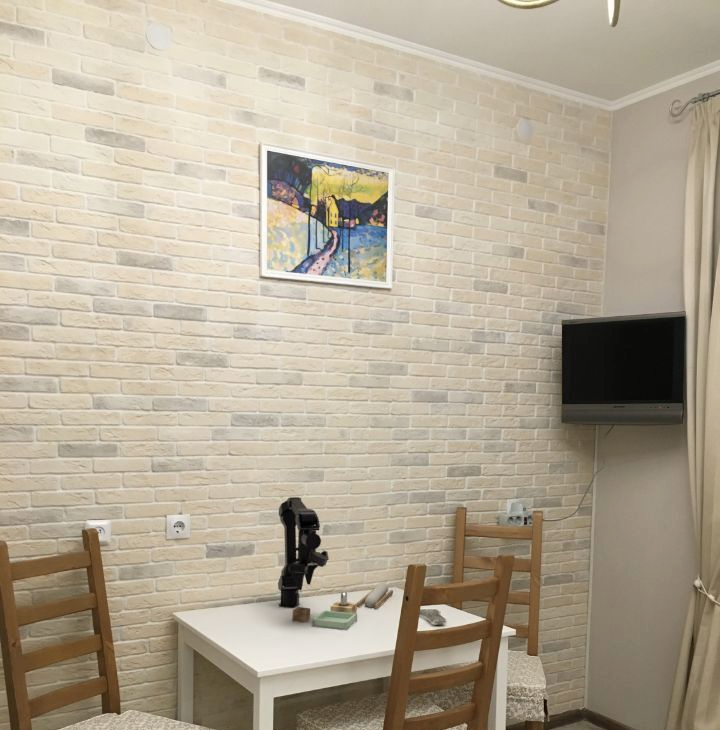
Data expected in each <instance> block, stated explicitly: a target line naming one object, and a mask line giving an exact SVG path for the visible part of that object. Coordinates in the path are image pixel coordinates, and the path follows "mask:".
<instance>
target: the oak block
mask: <svg viewBox="0 0 720 730" xmlns="http://www.w3.org/2000/svg"><path fill="white" fill-rule="evenodd" d="M330 611H335V612H344V613H354V614H357V613H358V612H357V611H358V608H357V602H348V601H347V606H341V601H340V600H338V601H335V603H333V604H331V605H330ZM356 612H357V613H356Z"/></svg>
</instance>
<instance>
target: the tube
mask: <svg viewBox="0 0 720 730" xmlns="http://www.w3.org/2000/svg"><path fill="white" fill-rule="evenodd" d="M373 589H374V590H373ZM373 589H372V590H373V591H372V590H371V591H372V592H371V591H370V592H371V593H370V592H369V593H370V594H369V595H368V596H367V598H366V599H365V603H364V605H365V606H366V607H367V606H368V607H367V608H371V607H374V605H375V604H376V603H377V602H378V601H379V600H380V599H381V598H382V597H384V596H385V595H386V594H387V593H388V592H389V585H388V584H387V583H386V582H383V581H379V582H378V584H376V586H375V588H373Z"/></svg>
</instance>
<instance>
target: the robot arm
mask: <svg viewBox="0 0 720 730" xmlns="http://www.w3.org/2000/svg"><path fill="white" fill-rule="evenodd" d="M278 516H279V521H280V523H281V524H282V526H283V527H284V529H283V531H284V566H283V567H282V569H281V571H280V573H281V575H280V576H279V579H278V582H277V589H278V590H279V591H280V603H279V604H278V606H279V607H285V608H295V607H296V608H297V607H298V605H300V593H299V591H301V590H302V589H303V585H304V578H305V581H306V582H305V583H306V584H307V585H311V583H312V581H313V580H312V579H313V576H314V572H315V570H317V568H318V567H320V568H321V567H322V568H324V567H325V566H326V565H327V562H328V561H329V560H330V559H329V557H330V556H329V555H328V551H327V550H323V551H321V552H320V551H319V552H318V551H316V549H319V547H320V546H321V543H322V539H321V537H320V535H319V534H318V533H317V531H320V527H321V524H320V521H319V517H318V514H317V513H316V511H315V510H314V509H312V508H308V507H307V506H306V505H305V504H304V503H303V500H302V498H301V497H300V496H297V497H296V496H295V497H294V496H291V497H288V498H287V500H285V501H283V502H282V503H281V504H280V505H279V508H278ZM296 531H298V533H297V532H296ZM297 535H298V536H297ZM297 537H298V538H297Z"/></svg>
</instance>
